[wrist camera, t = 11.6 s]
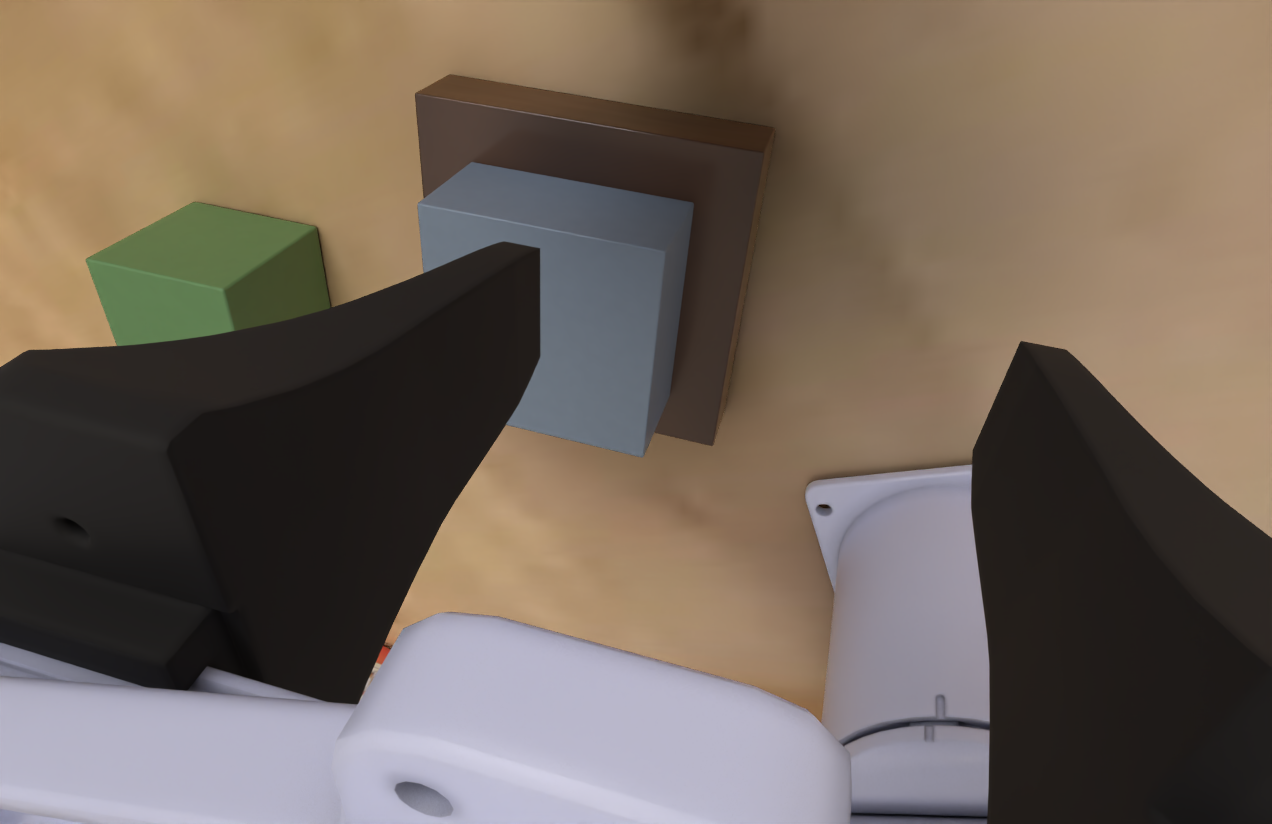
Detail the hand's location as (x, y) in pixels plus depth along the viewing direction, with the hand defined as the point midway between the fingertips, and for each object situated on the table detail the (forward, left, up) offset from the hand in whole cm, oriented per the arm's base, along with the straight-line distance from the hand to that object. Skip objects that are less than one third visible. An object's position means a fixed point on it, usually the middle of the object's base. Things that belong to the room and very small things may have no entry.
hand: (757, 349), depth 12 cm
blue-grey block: (-2, +7, -8) cm, 11 cm away
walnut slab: (-2, +7, -10) cm, 13 cm away
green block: (0, +19, -10) cm, 22 cm away
